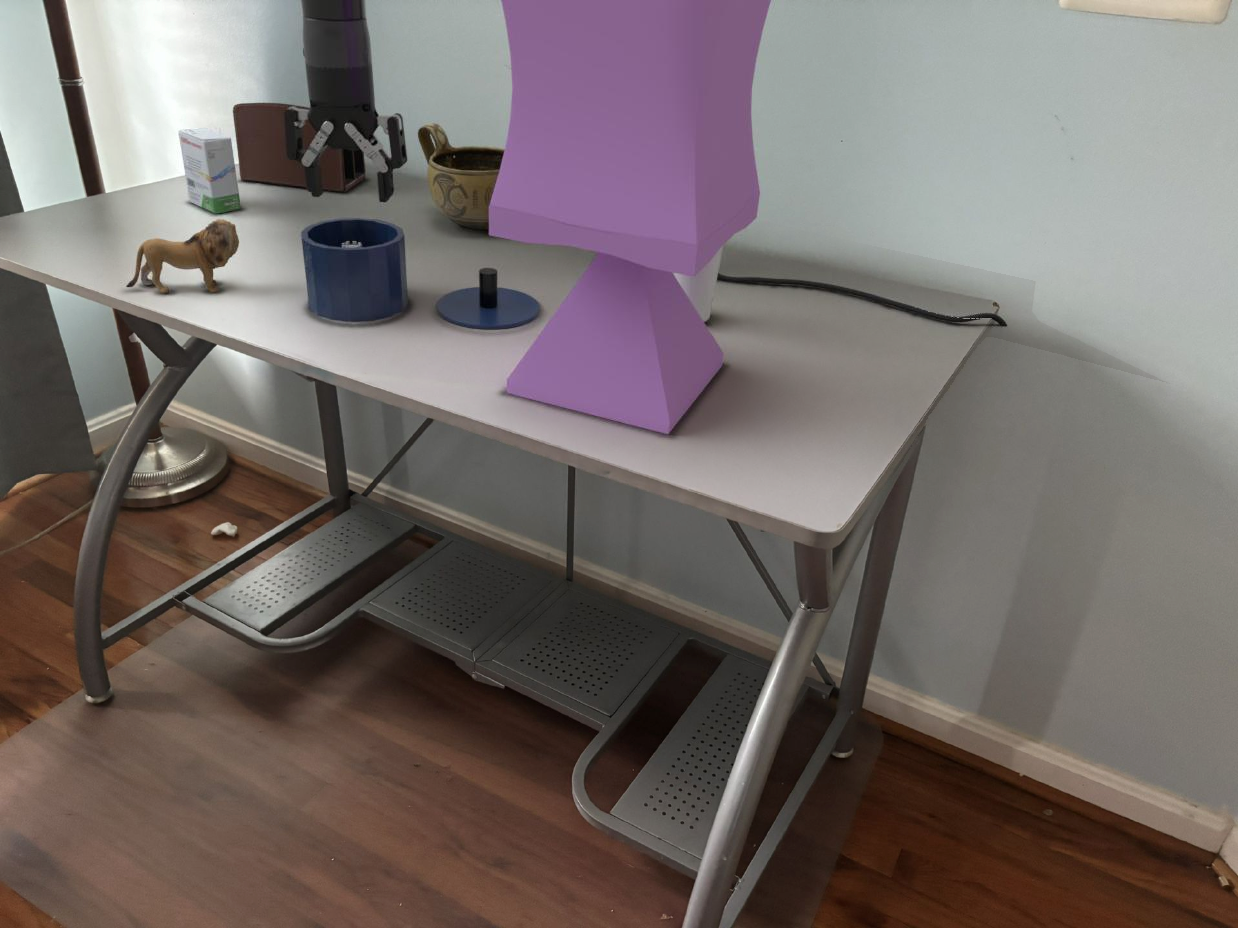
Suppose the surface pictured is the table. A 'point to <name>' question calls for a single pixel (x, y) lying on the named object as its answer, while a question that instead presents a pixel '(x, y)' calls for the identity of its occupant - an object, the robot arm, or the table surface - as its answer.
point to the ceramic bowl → (460, 177)
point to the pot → (355, 269)
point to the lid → (488, 305)
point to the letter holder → (267, 151)
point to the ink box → (210, 170)
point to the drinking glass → (702, 286)
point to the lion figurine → (189, 254)
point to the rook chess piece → (351, 245)
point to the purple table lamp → (628, 188)
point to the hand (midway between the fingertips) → (351, 198)
